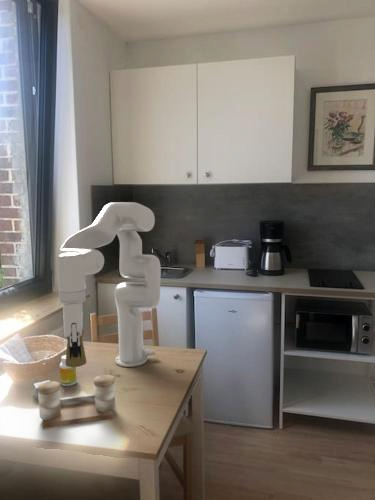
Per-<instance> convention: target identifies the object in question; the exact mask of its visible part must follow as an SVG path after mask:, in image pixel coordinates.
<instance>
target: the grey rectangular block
mask: <svg viewBox="0 0 375 500" xmlns="http://www.w3.org/2000/svg"><path fill="white" fill-rule="evenodd" d="M49 381H50V380H49V379H48V380H44V381H43V380H42V381H39V382H35V383H33V393H34V394H35V395H34V397H35V398H36V400H39V397H38V386H39V385H40V384H42V383H44V382H49Z"/></svg>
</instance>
